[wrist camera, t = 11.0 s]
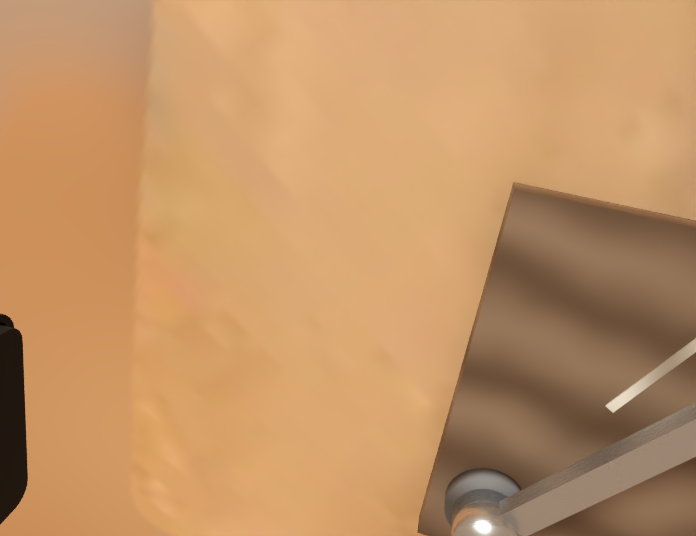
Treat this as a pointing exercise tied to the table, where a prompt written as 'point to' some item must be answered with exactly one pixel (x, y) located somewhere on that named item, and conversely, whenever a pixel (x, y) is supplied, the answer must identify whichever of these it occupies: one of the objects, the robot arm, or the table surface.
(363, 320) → the table surface
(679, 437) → the lever
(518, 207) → the cracker board
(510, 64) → the table surface
